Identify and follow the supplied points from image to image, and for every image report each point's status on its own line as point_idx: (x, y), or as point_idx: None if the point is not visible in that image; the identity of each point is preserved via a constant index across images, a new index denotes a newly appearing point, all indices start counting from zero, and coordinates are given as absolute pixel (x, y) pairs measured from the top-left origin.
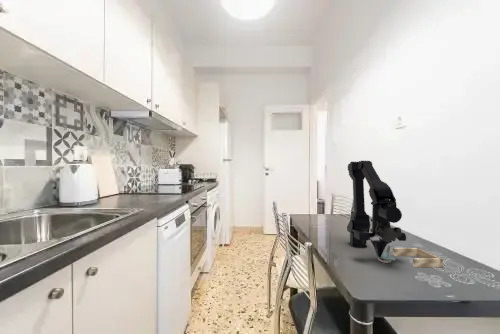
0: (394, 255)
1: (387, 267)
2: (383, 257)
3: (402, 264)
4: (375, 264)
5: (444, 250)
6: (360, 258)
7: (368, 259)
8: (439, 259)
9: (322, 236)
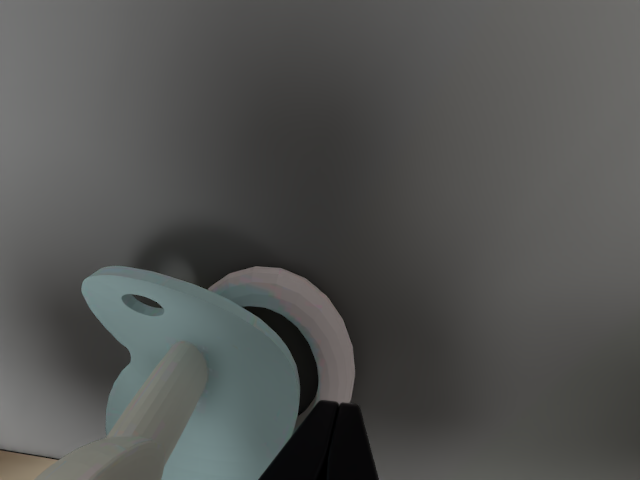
0: None
1: (377, 36)
2: (246, 415)
3: (36, 202)
4: (538, 219)
5: None
6: (602, 474)
7: (491, 427)
8: None
9: None
